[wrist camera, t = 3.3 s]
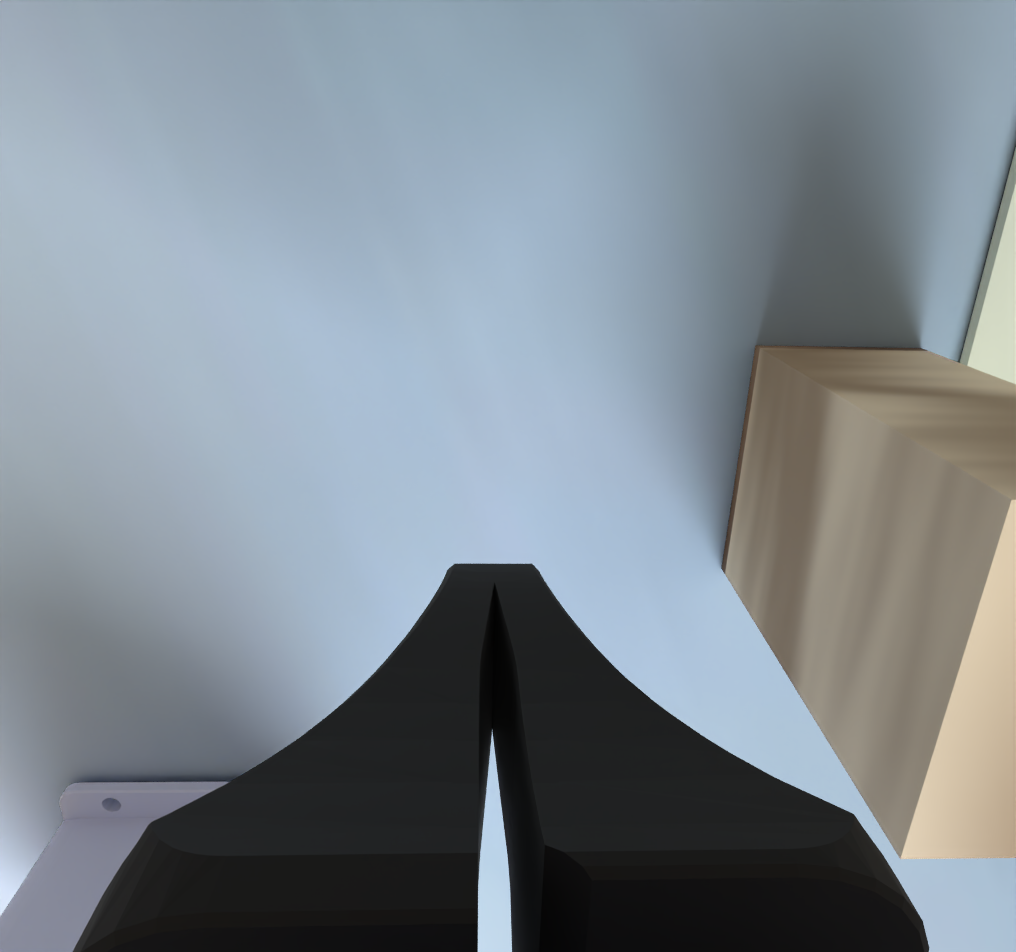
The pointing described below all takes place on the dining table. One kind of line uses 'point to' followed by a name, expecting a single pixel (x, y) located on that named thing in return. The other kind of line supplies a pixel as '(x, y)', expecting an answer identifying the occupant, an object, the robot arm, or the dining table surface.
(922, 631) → the birch block
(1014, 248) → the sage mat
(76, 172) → the dining table surface
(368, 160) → the dining table surface
